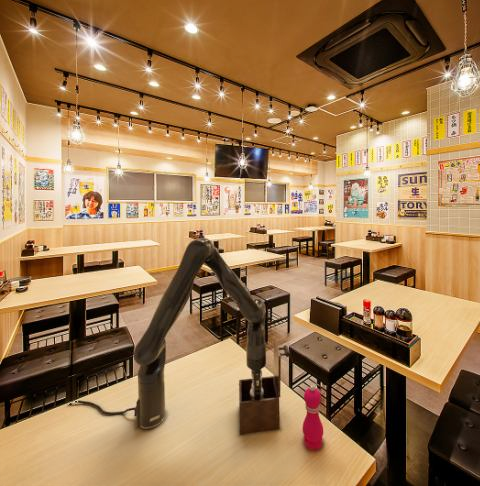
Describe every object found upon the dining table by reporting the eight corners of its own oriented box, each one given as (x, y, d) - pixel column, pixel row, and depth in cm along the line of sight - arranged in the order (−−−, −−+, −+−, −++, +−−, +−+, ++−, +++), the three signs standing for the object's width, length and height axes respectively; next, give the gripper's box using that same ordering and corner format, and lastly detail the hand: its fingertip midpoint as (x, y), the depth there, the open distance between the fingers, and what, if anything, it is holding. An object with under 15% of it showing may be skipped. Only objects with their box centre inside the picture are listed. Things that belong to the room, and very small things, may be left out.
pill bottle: (250, 403, 102) (250, 379, 102) (264, 403, 102) (264, 379, 102) (249, 414, 97) (249, 389, 97) (263, 414, 97) (263, 389, 97)
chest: (239, 434, 92) (239, 403, 92) (239, 407, 105) (239, 379, 105) (279, 429, 95) (279, 398, 94) (274, 403, 107) (274, 375, 107)
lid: (278, 356, 94) (292, 355, 94) (273, 338, 106) (285, 337, 107) (278, 397, 94) (291, 396, 95) (273, 374, 107) (285, 373, 107)
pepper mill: (310, 455, 85) (309, 396, 84) (298, 437, 91) (298, 382, 90) (327, 445, 88) (327, 388, 87) (315, 429, 94) (314, 376, 94)
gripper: (245, 343, 105) (246, 383, 106) (247, 365, 91) (247, 411, 92) (263, 341, 107) (264, 381, 107) (268, 363, 92) (268, 408, 93)
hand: (256, 395), depth 99 cm, fingers closed on pill bottle, 5 cm apart
